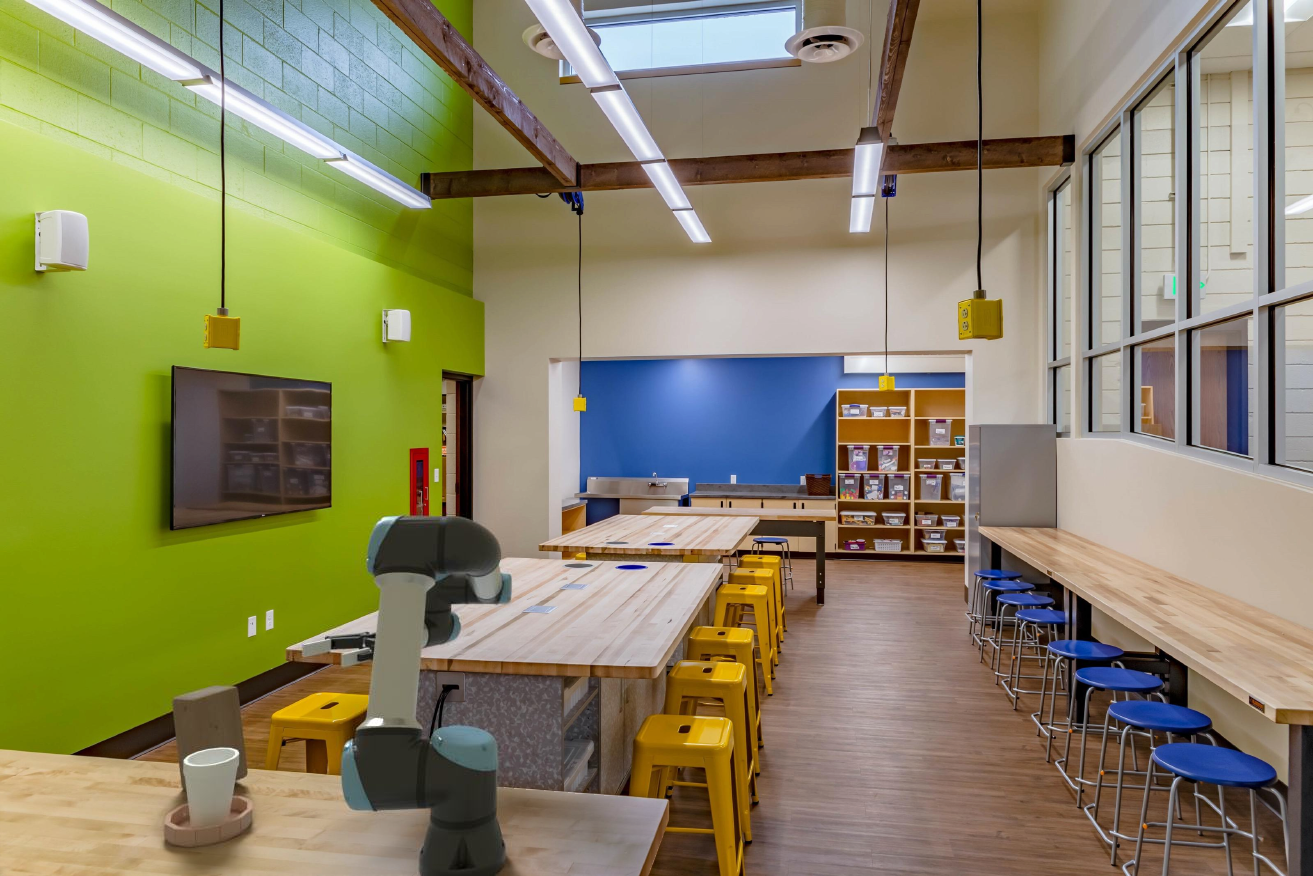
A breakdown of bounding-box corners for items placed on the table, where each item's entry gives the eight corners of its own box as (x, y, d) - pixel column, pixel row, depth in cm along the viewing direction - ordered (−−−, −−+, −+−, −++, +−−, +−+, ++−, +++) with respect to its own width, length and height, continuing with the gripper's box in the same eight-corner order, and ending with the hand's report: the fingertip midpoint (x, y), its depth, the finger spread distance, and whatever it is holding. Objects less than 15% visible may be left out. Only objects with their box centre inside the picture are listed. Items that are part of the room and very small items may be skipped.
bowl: (267, 824, 156) (267, 807, 156) (189, 855, 144) (190, 837, 144) (226, 805, 164) (226, 789, 164) (149, 833, 152) (150, 816, 152)
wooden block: (203, 795, 165) (192, 699, 166) (180, 791, 171) (169, 697, 172) (250, 776, 174) (239, 685, 175) (226, 772, 179) (216, 684, 180)
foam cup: (171, 828, 152) (173, 760, 152) (217, 809, 160) (219, 744, 160) (201, 840, 148) (203, 769, 148) (247, 820, 156) (249, 753, 156)
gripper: (439, 661, 180) (359, 683, 162) (368, 645, 193) (287, 664, 175) (440, 628, 180) (360, 646, 162) (369, 614, 193) (288, 630, 175)
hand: (322, 655), depth 169 cm, fingers open, 13 cm apart
